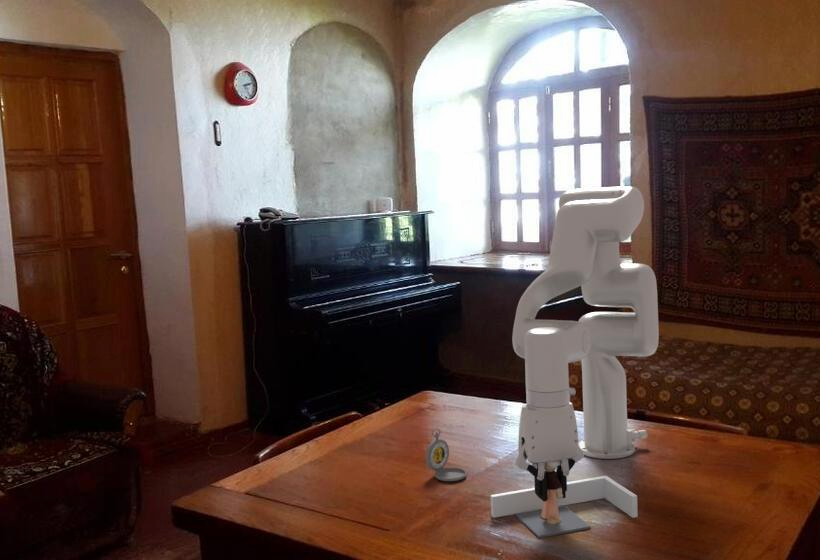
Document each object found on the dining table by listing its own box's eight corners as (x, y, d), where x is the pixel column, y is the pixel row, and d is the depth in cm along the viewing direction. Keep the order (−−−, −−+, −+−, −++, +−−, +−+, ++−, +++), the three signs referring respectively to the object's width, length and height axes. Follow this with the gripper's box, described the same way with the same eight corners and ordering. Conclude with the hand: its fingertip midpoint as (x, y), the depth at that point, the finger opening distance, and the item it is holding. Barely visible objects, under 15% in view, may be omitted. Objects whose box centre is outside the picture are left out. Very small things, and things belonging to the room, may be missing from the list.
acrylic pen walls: (606, 495, 156) (606, 475, 155) (637, 516, 145) (637, 495, 145) (491, 515, 149) (490, 495, 149) (515, 539, 139) (514, 517, 138)
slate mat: (564, 507, 151) (564, 505, 151) (590, 528, 142) (590, 526, 142) (515, 516, 149) (515, 514, 148) (538, 538, 139) (538, 535, 139)
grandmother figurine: (531, 515, 148) (528, 448, 146) (548, 510, 149) (546, 444, 148) (555, 530, 141) (553, 460, 139) (573, 525, 142) (571, 456, 141)
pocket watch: (464, 483, 166) (461, 436, 165) (424, 482, 168) (421, 436, 167) (469, 469, 174) (467, 424, 173) (431, 468, 176) (428, 424, 175)
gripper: (579, 387, 148) (581, 483, 150) (496, 398, 144) (501, 496, 146) (599, 396, 141) (602, 497, 143) (513, 408, 137) (517, 512, 139)
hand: (551, 496), depth 144 cm, fingers open, 2 cm apart
